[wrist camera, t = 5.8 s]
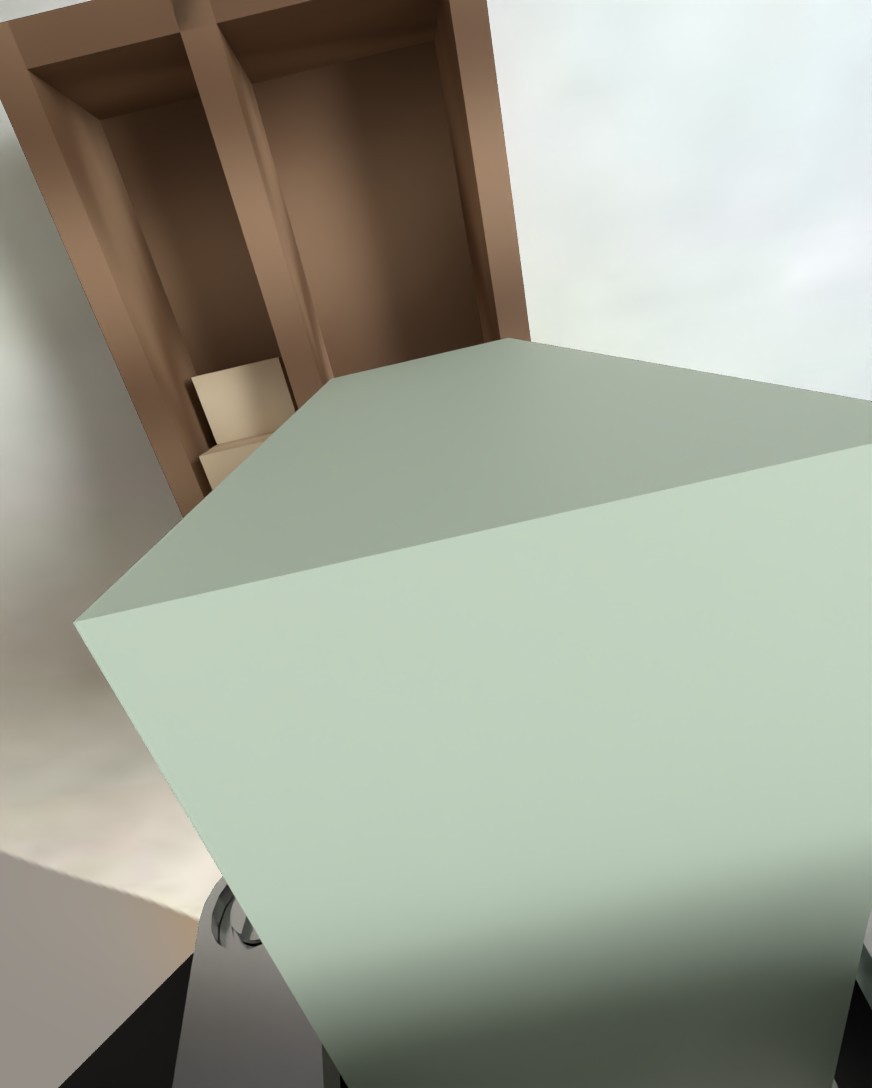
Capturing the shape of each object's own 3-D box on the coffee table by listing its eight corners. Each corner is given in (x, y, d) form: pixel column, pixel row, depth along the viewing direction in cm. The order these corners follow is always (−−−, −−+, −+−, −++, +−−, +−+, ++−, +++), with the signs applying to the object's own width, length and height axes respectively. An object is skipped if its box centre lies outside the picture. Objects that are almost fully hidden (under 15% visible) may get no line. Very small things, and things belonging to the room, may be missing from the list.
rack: (81, 108, 15) (-30, 29, 11) (453, 18, 15) (474, -93, 11) (351, 800, 26) (343, 884, 22) (564, 753, 26) (594, 829, 22)
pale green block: (330, 378, 11) (70, 621, 2) (508, 338, 11) (977, 419, 2) (434, 744, 16) (488, 1325, 7) (562, 717, 16) (792, 1264, 7)
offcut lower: (209, 373, 17) (190, 377, 15) (288, 354, 16) (277, 357, 15) (297, 611, 20) (289, 634, 19) (363, 596, 20) (360, 618, 19)
